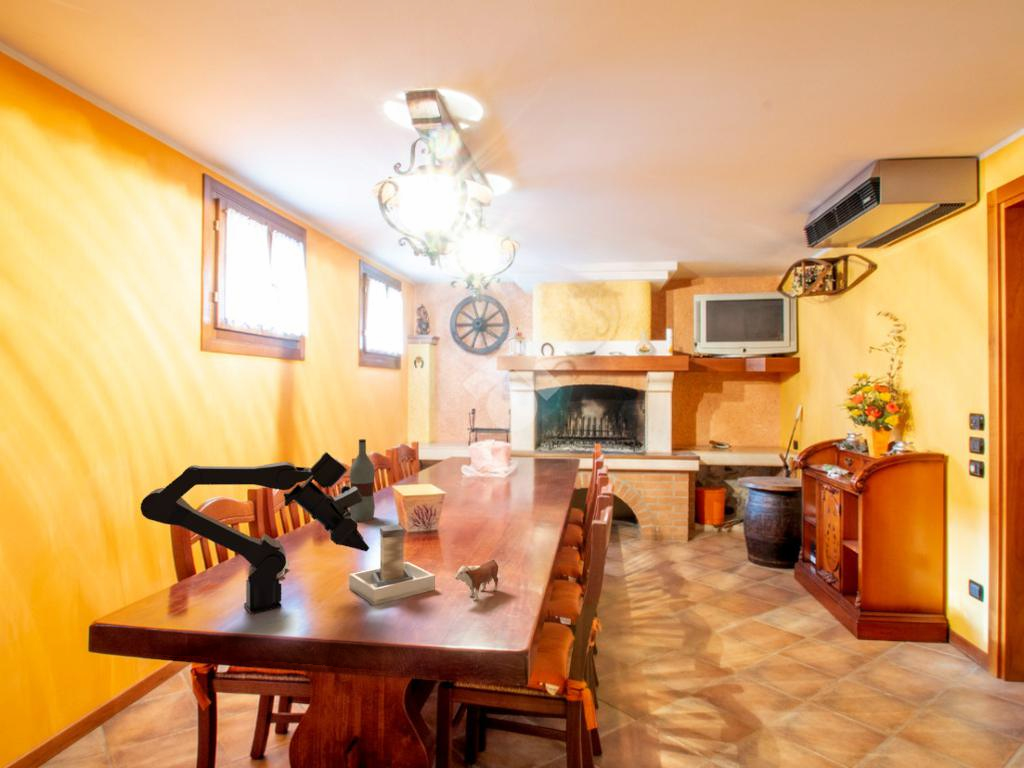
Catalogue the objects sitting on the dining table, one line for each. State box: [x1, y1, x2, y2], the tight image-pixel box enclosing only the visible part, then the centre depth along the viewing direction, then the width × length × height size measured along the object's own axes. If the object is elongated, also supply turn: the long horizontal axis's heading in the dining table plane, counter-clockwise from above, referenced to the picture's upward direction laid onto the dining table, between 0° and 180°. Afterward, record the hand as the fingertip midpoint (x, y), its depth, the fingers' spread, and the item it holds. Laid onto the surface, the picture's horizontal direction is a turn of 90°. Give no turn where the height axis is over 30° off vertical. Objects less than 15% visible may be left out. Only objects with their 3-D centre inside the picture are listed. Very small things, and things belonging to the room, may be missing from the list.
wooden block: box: [379, 524, 405, 581], centre depth 140 cm, size 5×5×14 cm
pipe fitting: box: [277, 558, 290, 579], centre depth 152 cm, size 8×4×7 cm
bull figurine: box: [454, 559, 499, 602], centre depth 135 cm, size 4×13×8 cm, turn 140°
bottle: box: [349, 438, 376, 522], centre depth 216 cm, size 9×9×30 cm
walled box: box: [348, 561, 436, 606], centre depth 140 cm, size 16×14×4 cm
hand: (365, 544), depth 137 cm, fingers open, 9 cm apart
